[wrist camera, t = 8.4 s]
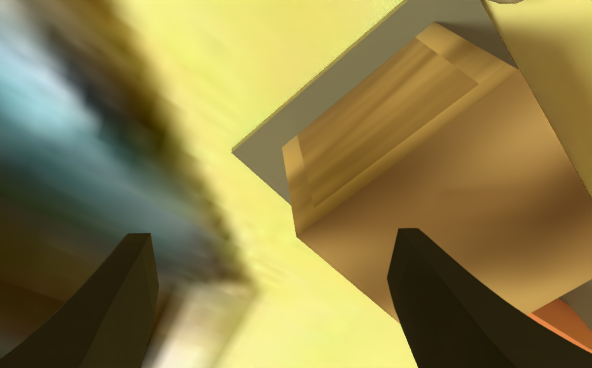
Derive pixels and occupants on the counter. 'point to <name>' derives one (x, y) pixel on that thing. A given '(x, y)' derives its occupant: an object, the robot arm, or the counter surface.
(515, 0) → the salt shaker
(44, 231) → the counter surface
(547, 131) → the oak crate
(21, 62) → the counter surface
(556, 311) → the vermilion block
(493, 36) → the slate board
